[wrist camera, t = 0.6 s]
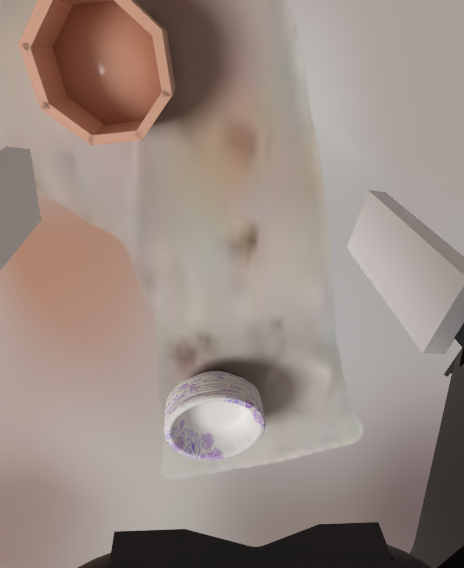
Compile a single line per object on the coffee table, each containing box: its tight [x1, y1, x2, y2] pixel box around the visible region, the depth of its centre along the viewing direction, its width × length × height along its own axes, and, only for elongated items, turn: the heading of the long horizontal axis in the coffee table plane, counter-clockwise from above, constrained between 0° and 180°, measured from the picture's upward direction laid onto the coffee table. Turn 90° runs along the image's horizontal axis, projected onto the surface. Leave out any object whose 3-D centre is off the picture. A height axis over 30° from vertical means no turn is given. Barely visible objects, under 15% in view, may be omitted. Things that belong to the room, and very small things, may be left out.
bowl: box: [18, 0, 176, 145], centre depth 31 cm, size 11×11×6 cm
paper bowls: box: [164, 371, 265, 460], centre depth 57 cm, size 15×15×8 cm
